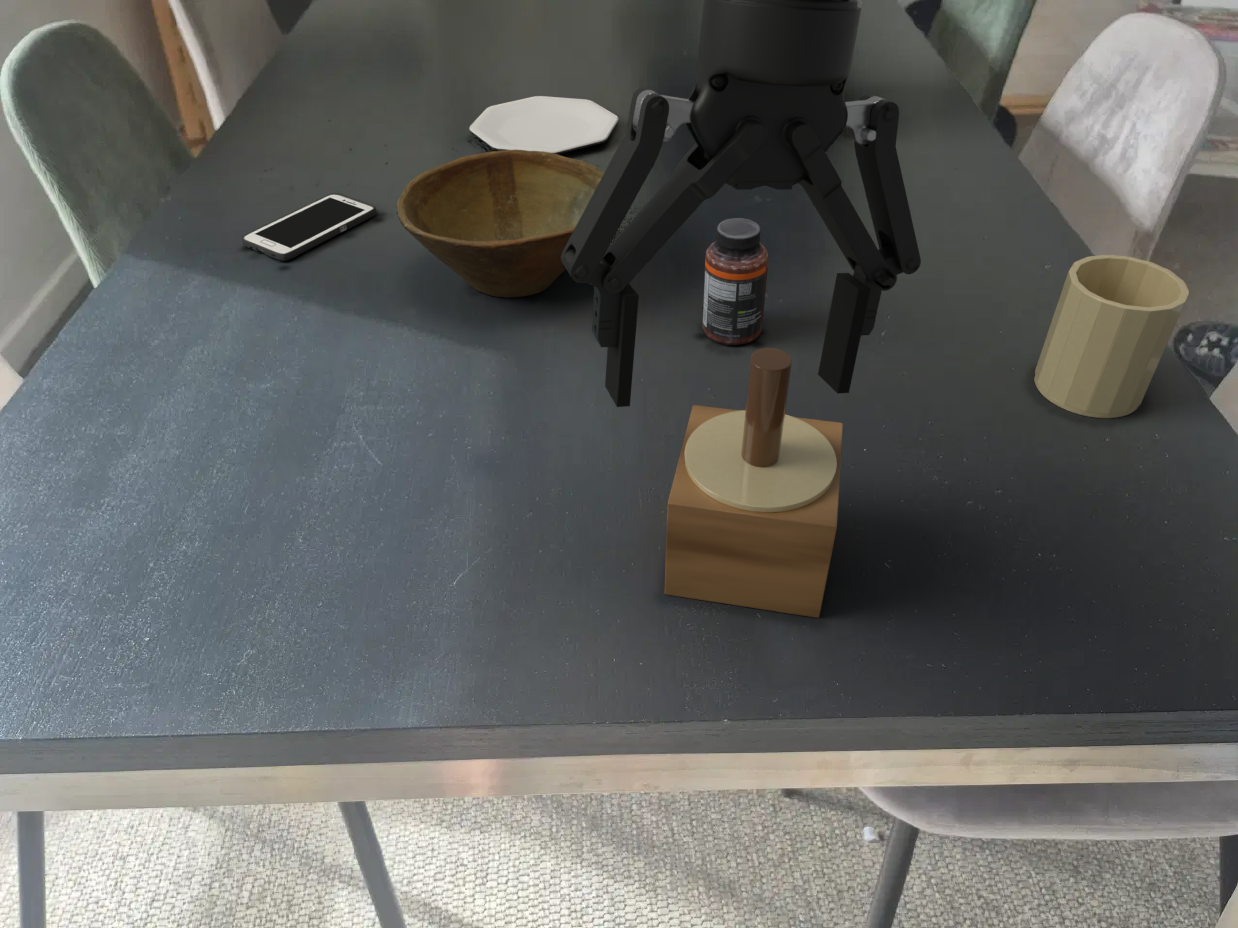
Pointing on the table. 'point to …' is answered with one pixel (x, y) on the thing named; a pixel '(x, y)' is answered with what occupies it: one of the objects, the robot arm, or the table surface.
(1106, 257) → the jar
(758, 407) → the lid
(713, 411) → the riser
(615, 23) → the table surface
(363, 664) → the table surface
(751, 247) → the supplement bottle
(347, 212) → the cell phone
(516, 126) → the plate
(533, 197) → the bowl
